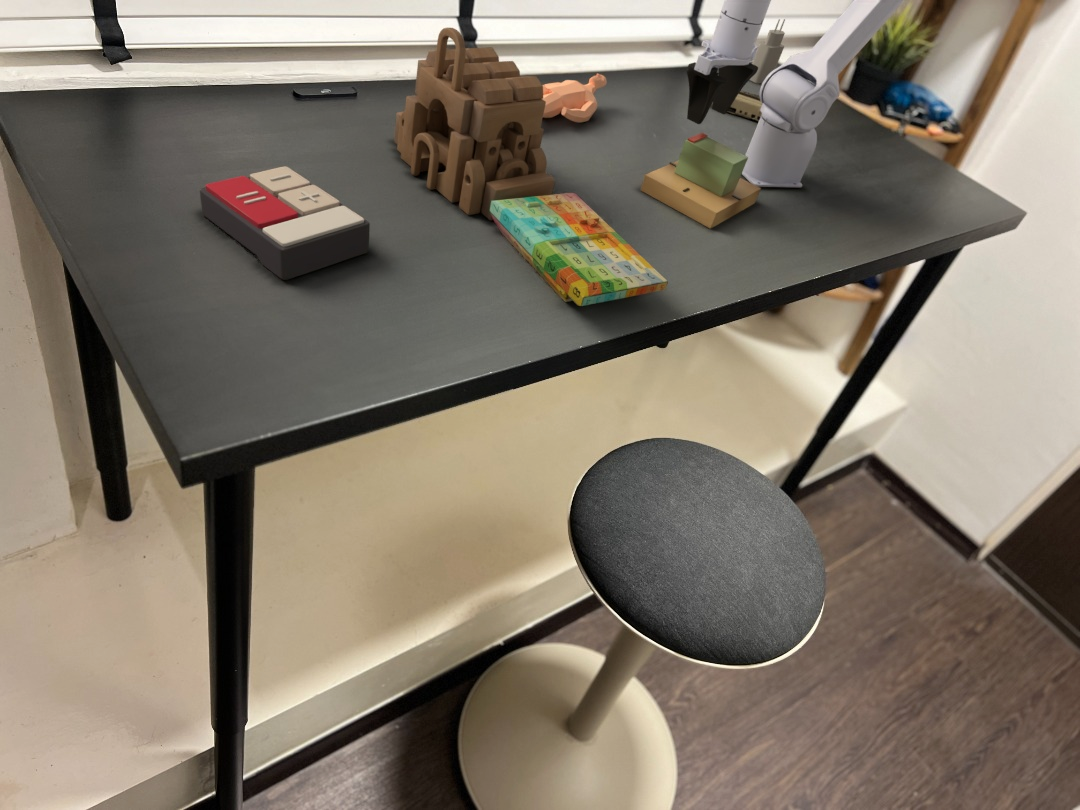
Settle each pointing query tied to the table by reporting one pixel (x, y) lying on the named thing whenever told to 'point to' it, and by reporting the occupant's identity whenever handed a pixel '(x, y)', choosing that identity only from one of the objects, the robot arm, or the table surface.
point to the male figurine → (572, 98)
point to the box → (710, 164)
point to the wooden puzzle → (474, 127)
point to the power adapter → (768, 54)
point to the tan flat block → (698, 196)
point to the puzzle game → (574, 249)
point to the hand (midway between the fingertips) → (706, 116)
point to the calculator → (285, 221)
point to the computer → (747, 105)
